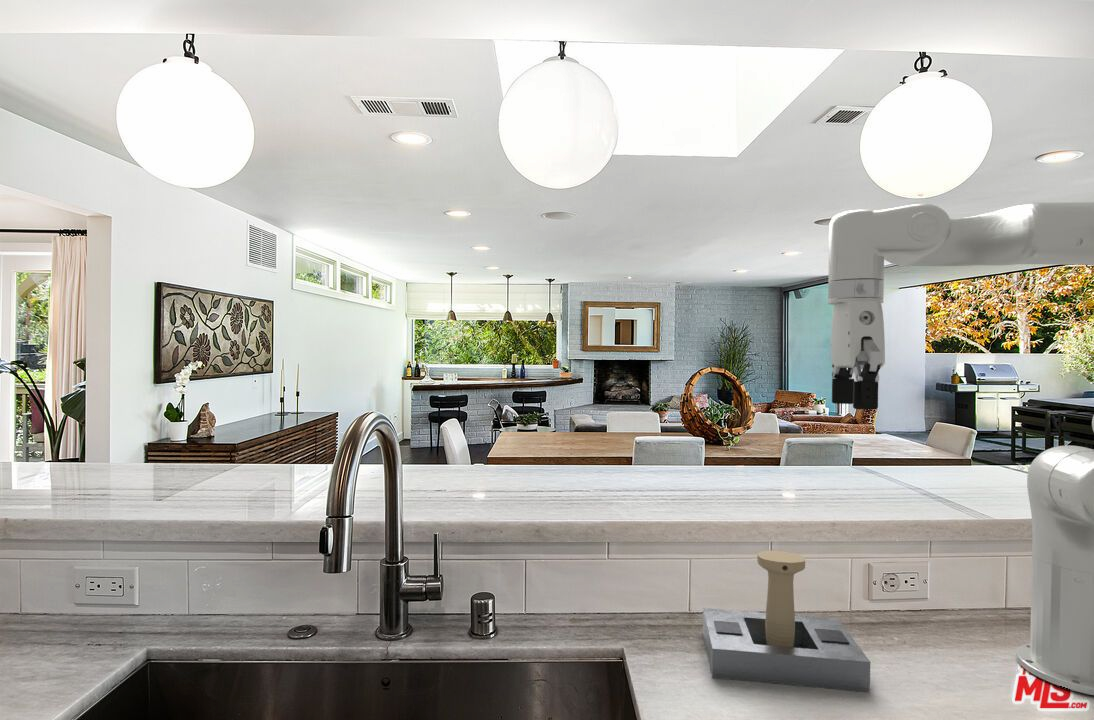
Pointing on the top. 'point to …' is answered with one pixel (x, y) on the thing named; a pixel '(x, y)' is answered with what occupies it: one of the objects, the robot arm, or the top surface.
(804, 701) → the top surface
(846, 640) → the block
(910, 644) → the top surface
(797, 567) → the handle
